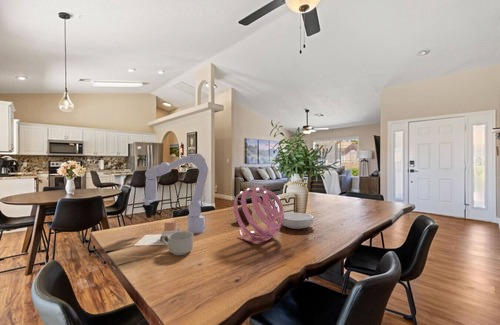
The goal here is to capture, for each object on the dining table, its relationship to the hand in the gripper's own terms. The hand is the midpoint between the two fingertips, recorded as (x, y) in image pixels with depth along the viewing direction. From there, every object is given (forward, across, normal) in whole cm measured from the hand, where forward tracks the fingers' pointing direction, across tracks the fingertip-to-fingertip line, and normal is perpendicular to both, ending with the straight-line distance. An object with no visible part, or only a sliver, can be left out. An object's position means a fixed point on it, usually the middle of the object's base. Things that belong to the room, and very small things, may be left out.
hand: (151, 216), depth 128 cm
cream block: (+8, +8, +12) cm, 16 cm away
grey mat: (+10, +8, +7) cm, 15 cm away
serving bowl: (+11, -10, +82) cm, 83 cm away
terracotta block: (+5, +8, +12) cm, 15 cm away
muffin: (+11, -23, +51) cm, 57 cm away
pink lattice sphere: (+11, +11, +57) cm, 59 cm away
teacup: (+11, +25, +19) cm, 33 cm away
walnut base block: (+10, +8, +12) cm, 18 cm away
